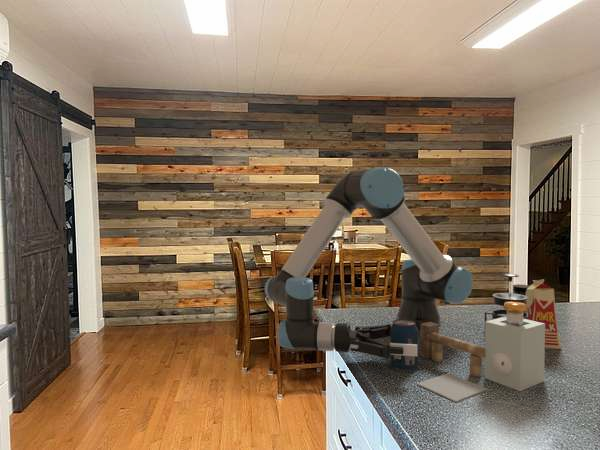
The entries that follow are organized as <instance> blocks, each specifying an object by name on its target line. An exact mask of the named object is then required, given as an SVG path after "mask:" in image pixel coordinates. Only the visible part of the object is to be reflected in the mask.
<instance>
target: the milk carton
mask: <svg viewBox="0 0 600 450" xmlns="http://www.w3.org/2000/svg"><path fill="white" fill-rule="evenodd" d="M532 282H533V283H532V284H530V285H529V286H530V287H529V288H527V290H526V295H525V296H527V297H528V300H526V301H525V302H524V304H526V311H523V312H524V313H526V314H528V320H532V321H536V322H540V323H545V349H557V350H558V349H560V350H562V349H563V348H562V344H561V338H560V333H559V326H558V319H557V311H556V301H555V288H553V287H551V286H549V285H548V284H545V283H544V282H545V279H543V278H542V279H539V280H533V279H532Z"/></svg>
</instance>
